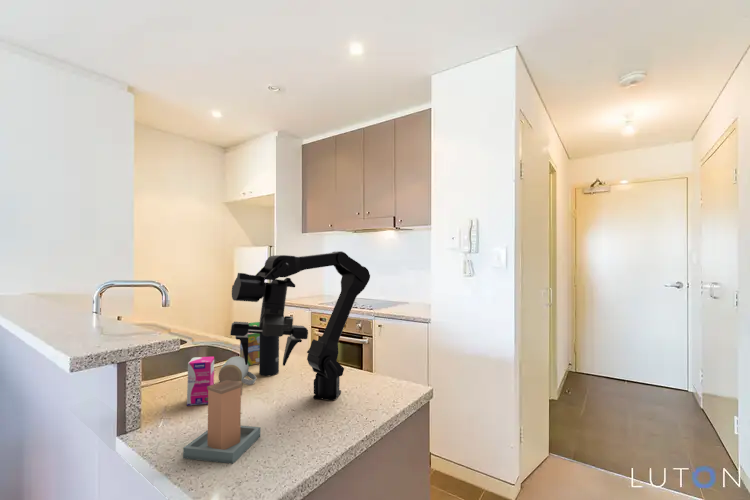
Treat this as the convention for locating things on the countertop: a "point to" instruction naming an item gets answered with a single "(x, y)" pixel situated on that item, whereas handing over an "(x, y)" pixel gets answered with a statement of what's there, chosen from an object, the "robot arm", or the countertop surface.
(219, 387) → the tan lidded box
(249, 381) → the ceramic mug
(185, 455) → the slate tray
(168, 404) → the countertop surface
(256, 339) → the chalk box
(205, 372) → the supplement box
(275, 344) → the wine bottle
